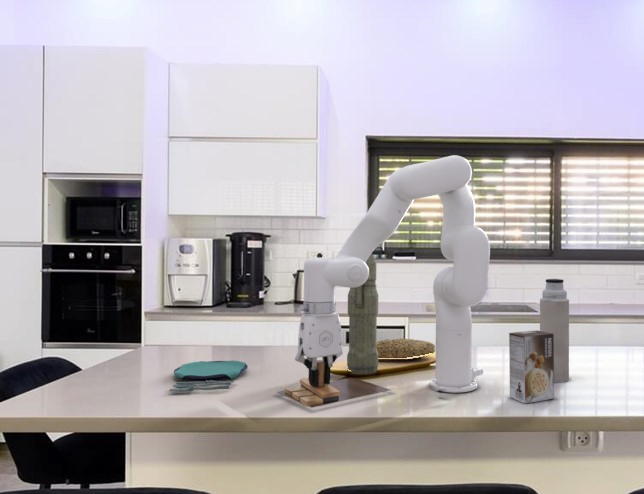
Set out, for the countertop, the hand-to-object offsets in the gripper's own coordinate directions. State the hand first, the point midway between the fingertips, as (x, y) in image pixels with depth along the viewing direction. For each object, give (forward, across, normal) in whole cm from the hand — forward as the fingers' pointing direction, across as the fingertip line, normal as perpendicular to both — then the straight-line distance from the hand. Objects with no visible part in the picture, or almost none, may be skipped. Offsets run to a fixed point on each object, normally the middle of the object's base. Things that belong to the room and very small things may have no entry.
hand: (319, 383), depth 135 cm
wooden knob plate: (+3, 0, 0) cm, 3 cm away
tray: (+4, +5, +1) cm, 6 cm away
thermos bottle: (+4, +61, -25) cm, 66 cm away
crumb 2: (+3, -4, +1) cm, 5 cm away
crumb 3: (+3, -5, -4) cm, 7 cm away
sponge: (+4, +45, +22) cm, 50 cm away
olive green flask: (+4, +23, +14) cm, 27 cm away
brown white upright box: (+4, +40, -33) cm, 52 cm away
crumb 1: (+3, -3, +6) cm, 7 cm away
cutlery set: (+4, -13, +37) cm, 39 cm away
